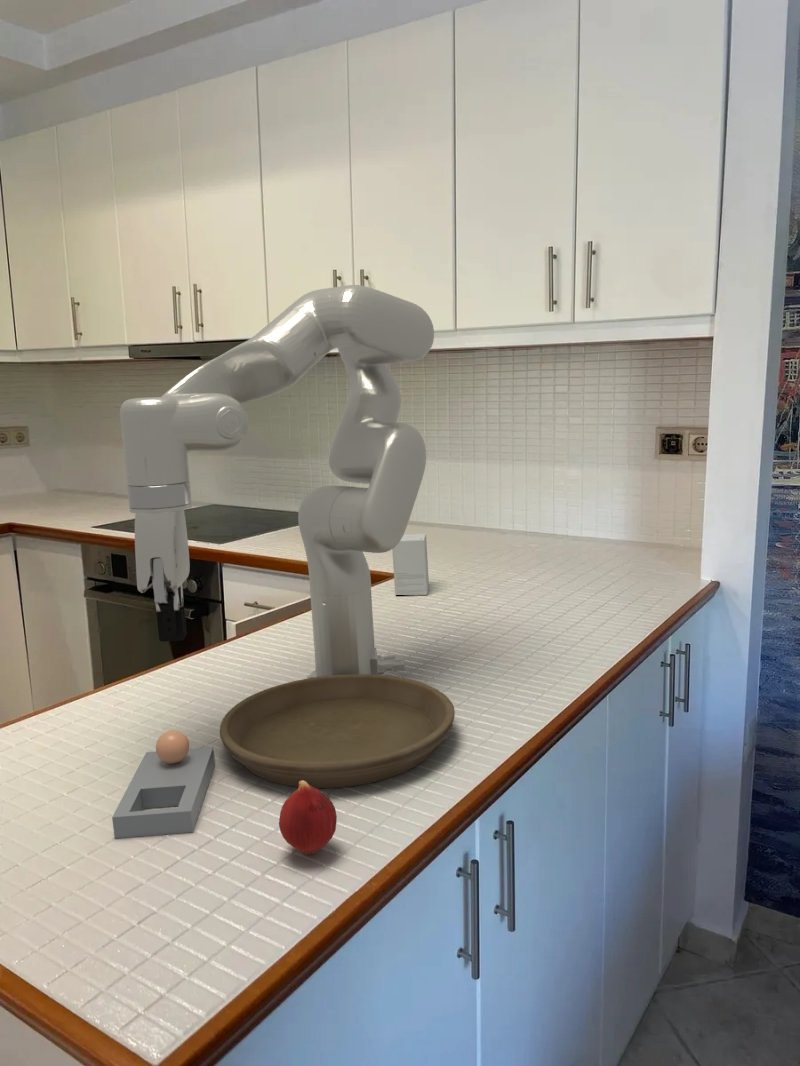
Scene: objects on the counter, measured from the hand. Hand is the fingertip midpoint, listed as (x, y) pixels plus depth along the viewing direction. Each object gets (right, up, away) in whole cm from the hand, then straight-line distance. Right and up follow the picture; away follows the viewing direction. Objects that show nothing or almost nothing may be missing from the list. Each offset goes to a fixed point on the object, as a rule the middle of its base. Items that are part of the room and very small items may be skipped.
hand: (173, 638), depth 107 cm
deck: (+2, -18, -9) cm, 20 cm away
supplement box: (+32, 0, +80) cm, 86 cm away
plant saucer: (+21, -15, +5) cm, 26 cm away
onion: (+20, -20, -21) cm, 35 cm away
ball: (+1, -13, -5) cm, 14 cm away
